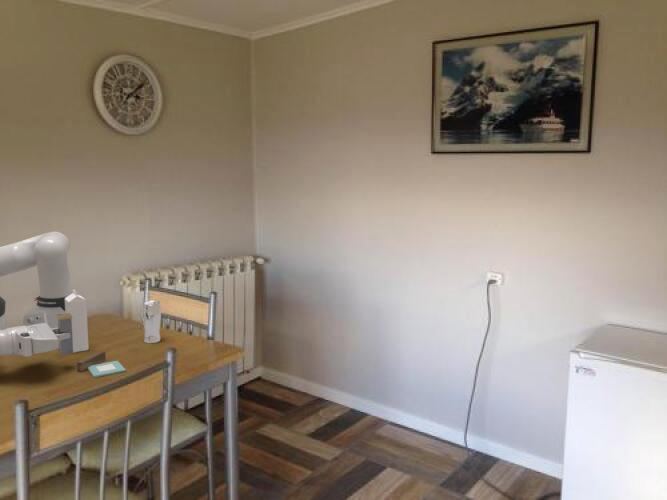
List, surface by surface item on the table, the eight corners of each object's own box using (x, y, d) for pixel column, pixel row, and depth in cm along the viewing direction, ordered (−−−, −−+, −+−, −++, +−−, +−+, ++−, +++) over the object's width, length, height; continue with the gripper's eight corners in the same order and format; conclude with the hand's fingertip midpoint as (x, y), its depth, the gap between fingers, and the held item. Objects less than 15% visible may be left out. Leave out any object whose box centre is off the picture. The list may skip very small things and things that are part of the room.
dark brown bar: (77, 371, 191) (77, 362, 190) (100, 358, 202) (100, 350, 202) (82, 371, 190) (82, 363, 190) (105, 359, 202) (105, 351, 201)
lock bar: (61, 355, 191) (58, 317, 188) (58, 351, 194) (56, 314, 192) (74, 352, 193) (72, 315, 191) (71, 349, 196) (69, 312, 194)
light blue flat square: (94, 377, 186) (94, 375, 186) (86, 367, 194) (86, 365, 194) (125, 371, 192) (125, 369, 191) (117, 362, 200) (117, 360, 199)
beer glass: (158, 343, 219) (157, 305, 217) (140, 343, 219) (139, 304, 217) (164, 338, 226) (163, 300, 224) (146, 337, 226) (145, 300, 224)
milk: (71, 353, 207) (67, 293, 204) (67, 348, 212) (63, 289, 208) (89, 350, 211) (85, 291, 207) (84, 345, 216) (81, 287, 212)
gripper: (17, 340, 194) (62, 333, 202) (27, 358, 177) (75, 350, 185) (16, 322, 192) (61, 316, 200) (25, 339, 176) (74, 331, 184)
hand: (68, 332), depth 193 cm, fingers closed on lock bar, 4 cm apart
